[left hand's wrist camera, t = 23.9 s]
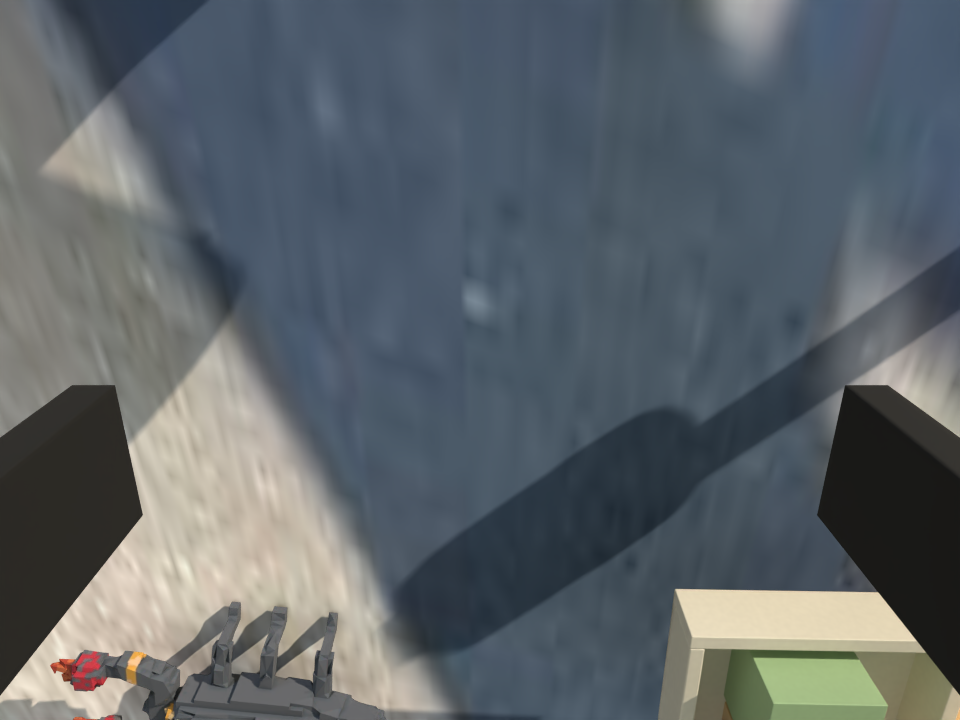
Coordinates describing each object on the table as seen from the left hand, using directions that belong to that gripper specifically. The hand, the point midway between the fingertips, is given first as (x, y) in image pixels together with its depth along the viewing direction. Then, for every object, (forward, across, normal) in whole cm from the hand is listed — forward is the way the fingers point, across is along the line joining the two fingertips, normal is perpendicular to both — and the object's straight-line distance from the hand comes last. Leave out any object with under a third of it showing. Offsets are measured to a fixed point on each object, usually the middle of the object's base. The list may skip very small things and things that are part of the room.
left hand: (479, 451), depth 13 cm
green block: (+19, +17, -24) cm, 35 cm away
